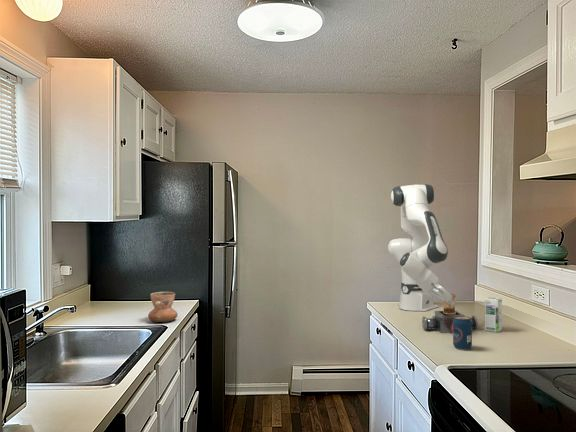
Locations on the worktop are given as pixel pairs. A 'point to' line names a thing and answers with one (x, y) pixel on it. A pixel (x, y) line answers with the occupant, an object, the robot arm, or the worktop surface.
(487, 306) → the syrup box
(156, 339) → the worktop surface
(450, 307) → the copper flared cylinder
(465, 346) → the soda can
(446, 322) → the valve body
